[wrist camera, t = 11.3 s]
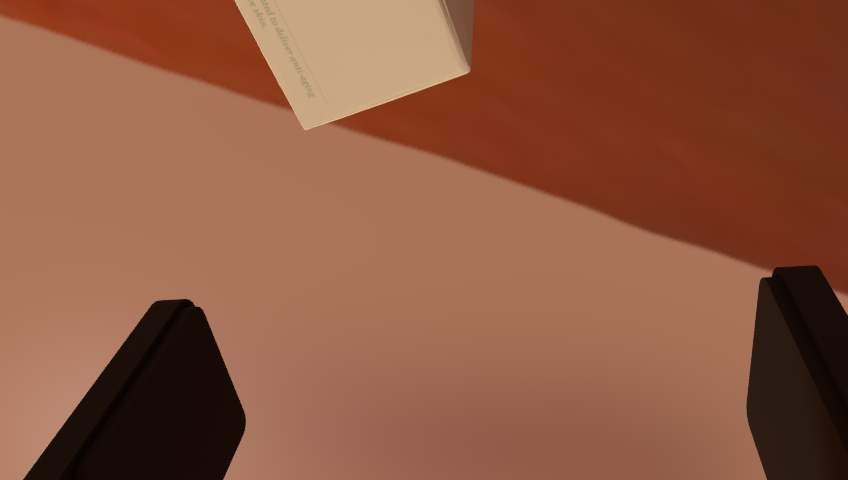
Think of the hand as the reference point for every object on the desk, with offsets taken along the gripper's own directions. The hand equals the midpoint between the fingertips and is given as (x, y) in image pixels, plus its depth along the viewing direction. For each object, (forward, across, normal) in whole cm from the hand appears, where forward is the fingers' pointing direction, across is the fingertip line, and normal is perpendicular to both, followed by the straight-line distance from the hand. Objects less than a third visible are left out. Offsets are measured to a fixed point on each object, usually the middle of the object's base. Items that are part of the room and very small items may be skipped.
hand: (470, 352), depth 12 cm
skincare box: (+28, +5, -4) cm, 29 cm away
